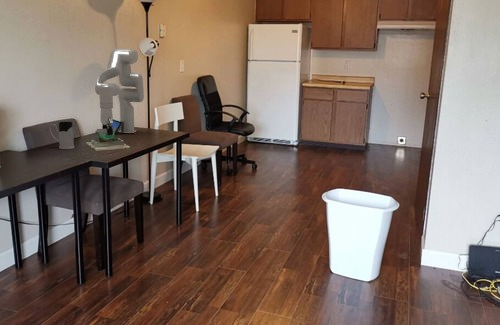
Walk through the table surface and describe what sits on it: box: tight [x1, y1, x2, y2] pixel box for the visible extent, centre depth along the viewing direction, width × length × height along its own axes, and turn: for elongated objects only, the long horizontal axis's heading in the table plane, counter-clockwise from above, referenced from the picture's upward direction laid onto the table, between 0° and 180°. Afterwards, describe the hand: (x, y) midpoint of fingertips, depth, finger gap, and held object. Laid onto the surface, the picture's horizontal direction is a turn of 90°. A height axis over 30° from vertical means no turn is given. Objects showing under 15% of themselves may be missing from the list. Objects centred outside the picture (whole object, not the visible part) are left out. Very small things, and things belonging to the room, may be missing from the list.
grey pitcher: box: [49, 121, 75, 150], centre depth 273 cm, size 9×14×15 cm, turn 86°
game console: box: [95, 118, 122, 136], centre depth 322 cm, size 16×14×9 cm
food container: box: [95, 127, 116, 143], centre depth 280 cm, size 12×6×10 cm, turn 140°
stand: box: [85, 137, 131, 152], centre depth 282 cm, size 22×20×4 cm
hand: (107, 133), depth 281 cm, fingers open, 9 cm apart
